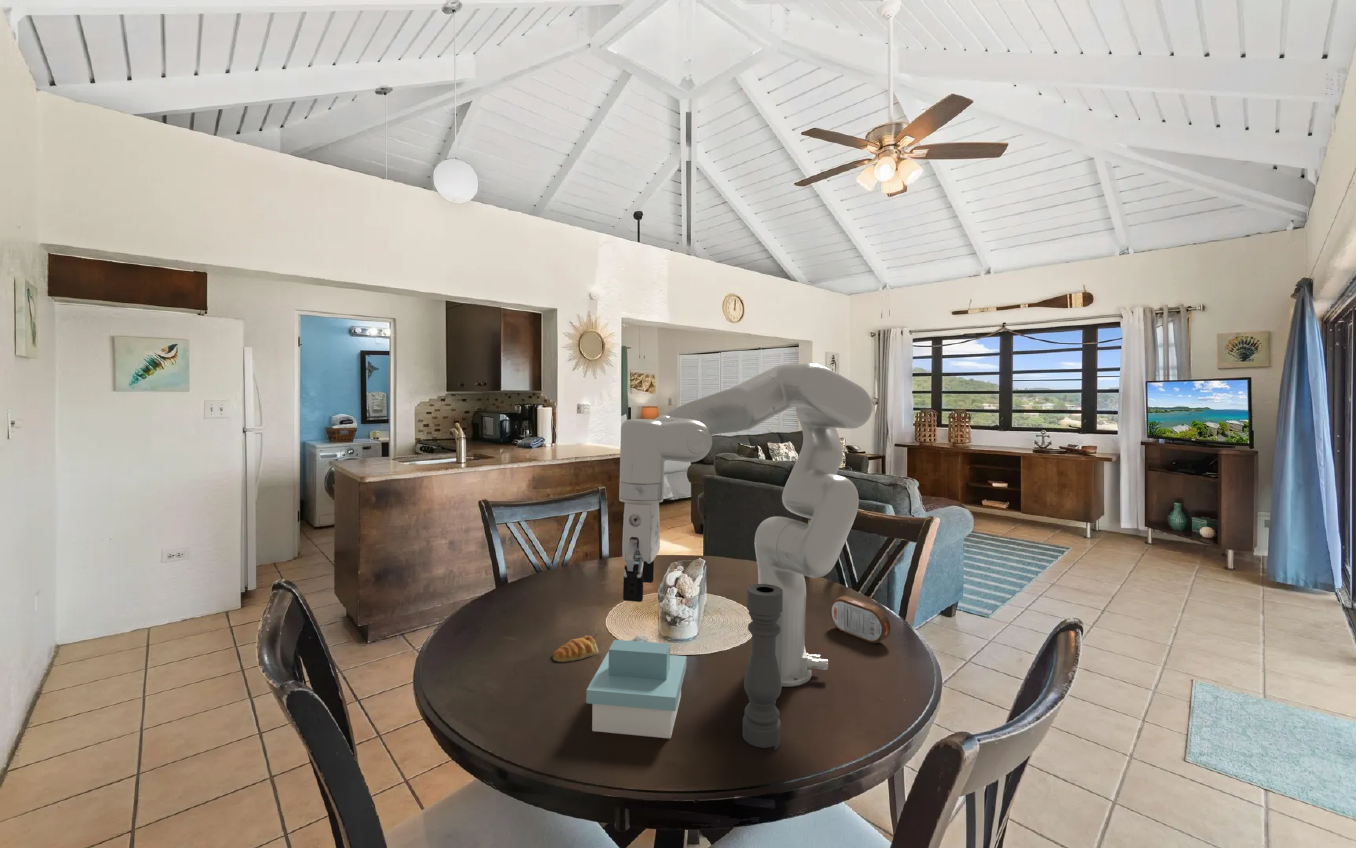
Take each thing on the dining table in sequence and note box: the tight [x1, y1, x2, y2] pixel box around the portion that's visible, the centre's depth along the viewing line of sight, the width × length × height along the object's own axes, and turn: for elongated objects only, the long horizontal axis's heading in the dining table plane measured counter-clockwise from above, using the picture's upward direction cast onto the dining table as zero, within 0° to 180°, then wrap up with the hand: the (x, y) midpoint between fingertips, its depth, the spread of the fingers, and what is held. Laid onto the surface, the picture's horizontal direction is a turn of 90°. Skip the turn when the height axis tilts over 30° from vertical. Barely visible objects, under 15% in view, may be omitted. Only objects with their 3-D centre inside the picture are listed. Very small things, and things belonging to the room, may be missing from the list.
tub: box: [591, 690, 682, 740], centre depth 100 cm, size 13×13×7 cm
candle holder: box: [741, 583, 783, 751], centre depth 93 cm, size 6×6×25 cm
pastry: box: [552, 635, 599, 663], centre depth 122 cm, size 9×7×4 cm
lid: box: [585, 639, 687, 711], centre depth 99 cm, size 15×15×7 cm
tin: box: [829, 595, 891, 644], centre depth 135 cm, size 15×3×8 cm, turn 38°
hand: (638, 590), depth 98 cm, fingers open, 9 cm apart
